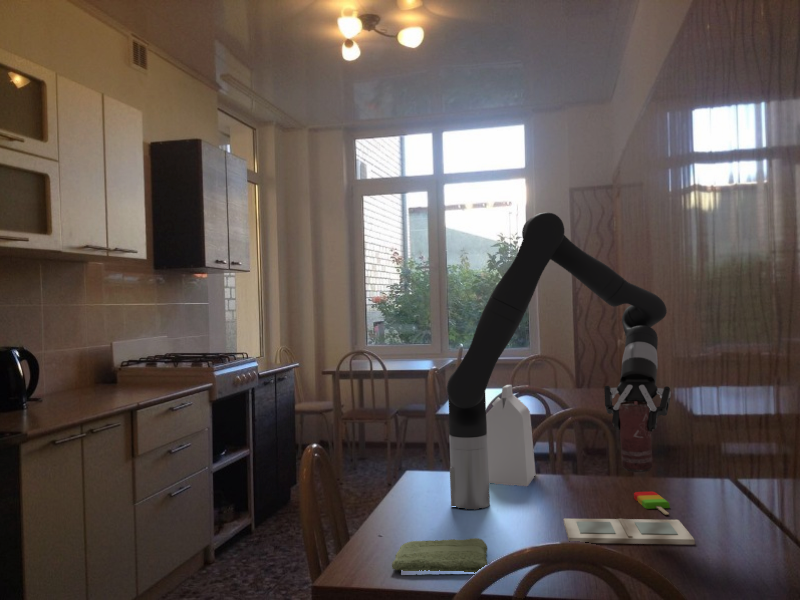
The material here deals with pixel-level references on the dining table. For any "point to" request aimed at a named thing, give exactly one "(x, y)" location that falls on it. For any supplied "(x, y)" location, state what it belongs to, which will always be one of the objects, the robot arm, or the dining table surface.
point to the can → (635, 436)
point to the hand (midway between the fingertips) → (633, 428)
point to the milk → (510, 441)
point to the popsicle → (652, 501)
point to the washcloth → (442, 555)
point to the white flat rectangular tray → (628, 531)
